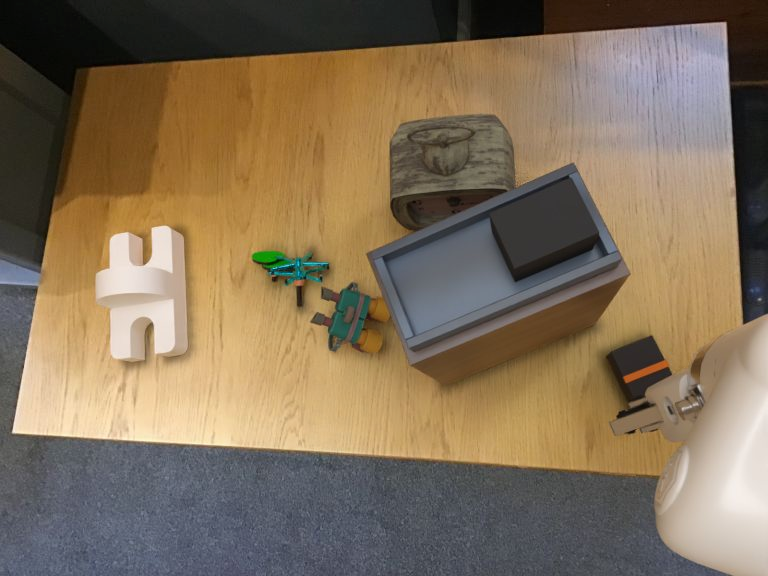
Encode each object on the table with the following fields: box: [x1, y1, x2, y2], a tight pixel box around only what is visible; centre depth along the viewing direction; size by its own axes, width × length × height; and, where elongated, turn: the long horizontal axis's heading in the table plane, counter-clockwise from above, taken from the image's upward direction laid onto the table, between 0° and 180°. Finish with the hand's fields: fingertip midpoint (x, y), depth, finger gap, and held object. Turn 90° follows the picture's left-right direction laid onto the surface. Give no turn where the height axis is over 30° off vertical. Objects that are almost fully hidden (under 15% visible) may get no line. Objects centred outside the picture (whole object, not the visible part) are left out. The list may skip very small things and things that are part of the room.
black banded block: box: [605, 334, 673, 406], centre depth 76 cm, size 5×7×5 cm
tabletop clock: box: [388, 113, 517, 232], centre depth 76 cm, size 14×9×25 cm, turn 90°
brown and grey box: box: [365, 162, 631, 387], centre depth 69 cm, size 11×20×31 cm, turn 111°
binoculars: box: [309, 281, 391, 355], centre depth 83 cm, size 9×9×10 cm
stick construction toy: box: [251, 250, 330, 308], centre depth 89 cm, size 12×7×8 cm
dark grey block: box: [489, 178, 599, 282], centre depth 53 cm, size 5×7×5 cm
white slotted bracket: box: [94, 225, 189, 363], centre depth 89 cm, size 10×18×10 cm, turn 6°
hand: (690, 394), depth 60 cm, fingers open, 9 cm apart
